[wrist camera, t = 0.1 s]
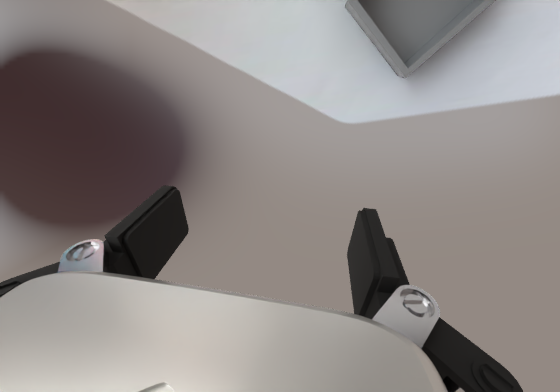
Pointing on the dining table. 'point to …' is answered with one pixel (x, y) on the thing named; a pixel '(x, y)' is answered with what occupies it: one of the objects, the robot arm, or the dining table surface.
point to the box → (412, 27)
